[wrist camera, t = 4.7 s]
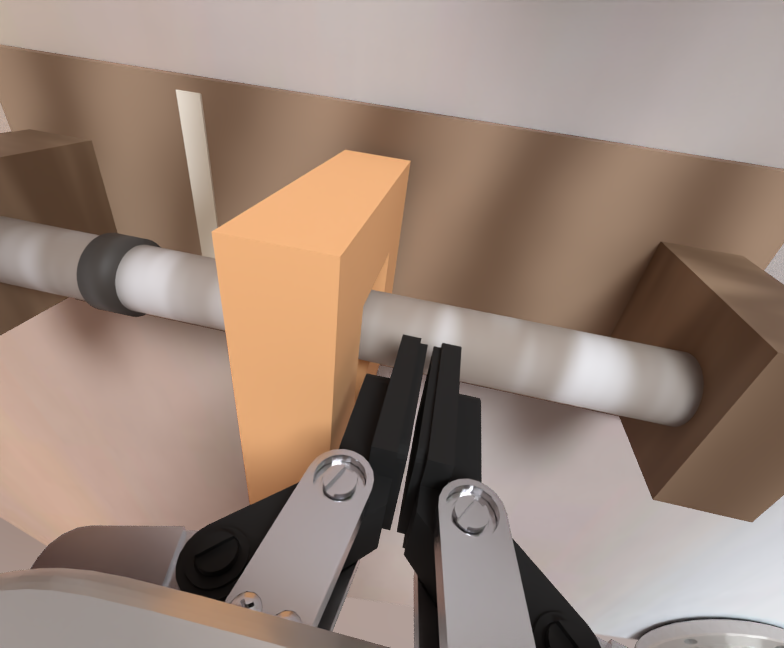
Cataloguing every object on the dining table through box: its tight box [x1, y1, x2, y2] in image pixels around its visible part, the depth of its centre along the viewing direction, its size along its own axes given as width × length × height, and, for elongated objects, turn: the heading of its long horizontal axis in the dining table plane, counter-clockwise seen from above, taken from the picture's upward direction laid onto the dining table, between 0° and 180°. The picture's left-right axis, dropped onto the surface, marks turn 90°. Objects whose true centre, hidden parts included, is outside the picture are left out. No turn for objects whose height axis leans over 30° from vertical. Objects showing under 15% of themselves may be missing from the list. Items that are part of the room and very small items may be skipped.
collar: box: [212, 150, 411, 504], centre depth 14 cm, size 2×9×9 cm, turn 173°
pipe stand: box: [0, 45, 784, 522], centre depth 15 cm, size 32×12×8 cm, turn 83°
